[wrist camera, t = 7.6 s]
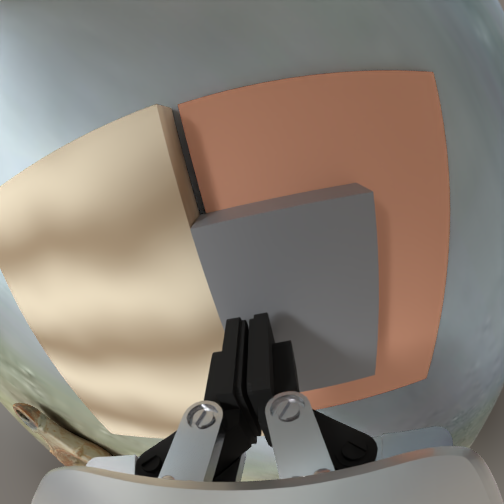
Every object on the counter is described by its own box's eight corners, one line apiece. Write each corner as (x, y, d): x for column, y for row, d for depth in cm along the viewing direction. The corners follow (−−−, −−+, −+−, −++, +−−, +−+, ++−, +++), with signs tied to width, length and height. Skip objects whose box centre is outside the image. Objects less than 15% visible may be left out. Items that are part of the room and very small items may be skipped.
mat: (179, 105, 11) (177, 104, 10) (429, 73, 10) (433, 72, 9) (270, 412, 18) (270, 417, 18) (424, 374, 17) (426, 378, 17)
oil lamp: (127, 481, 28) (114, 532, 19) (13, 391, 21) (-22, 447, 12) (169, 483, 27) (158, 543, 17) (39, 384, 19) (-4, 456, 10)
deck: (-2, 195, 12) (-22, 203, 10) (171, 108, 11) (156, 103, 9) (118, 416, 20) (111, 433, 18) (265, 413, 18) (265, 435, 17)
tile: (200, 214, 12) (190, 229, 11) (356, 182, 12) (373, 191, 10) (251, 374, 16) (250, 399, 14) (365, 351, 15) (374, 374, 14)
